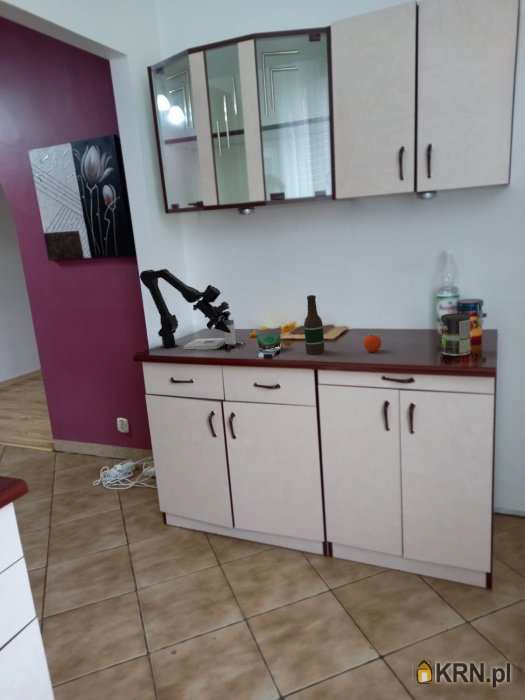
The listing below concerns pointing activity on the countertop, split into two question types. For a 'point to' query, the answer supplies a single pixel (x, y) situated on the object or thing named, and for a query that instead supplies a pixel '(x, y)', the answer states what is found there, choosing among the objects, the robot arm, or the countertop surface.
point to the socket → (205, 343)
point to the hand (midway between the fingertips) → (231, 331)
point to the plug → (230, 336)
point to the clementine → (372, 343)
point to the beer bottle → (313, 329)
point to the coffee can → (455, 334)
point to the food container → (268, 338)
